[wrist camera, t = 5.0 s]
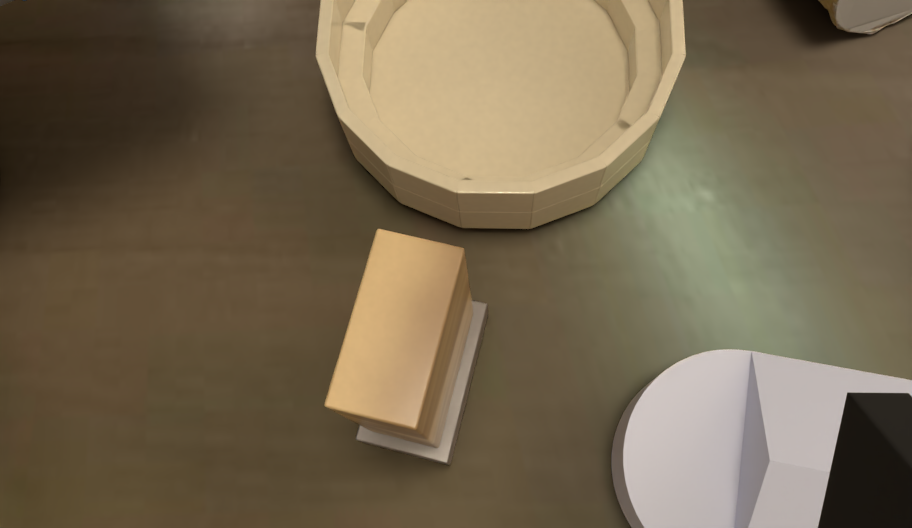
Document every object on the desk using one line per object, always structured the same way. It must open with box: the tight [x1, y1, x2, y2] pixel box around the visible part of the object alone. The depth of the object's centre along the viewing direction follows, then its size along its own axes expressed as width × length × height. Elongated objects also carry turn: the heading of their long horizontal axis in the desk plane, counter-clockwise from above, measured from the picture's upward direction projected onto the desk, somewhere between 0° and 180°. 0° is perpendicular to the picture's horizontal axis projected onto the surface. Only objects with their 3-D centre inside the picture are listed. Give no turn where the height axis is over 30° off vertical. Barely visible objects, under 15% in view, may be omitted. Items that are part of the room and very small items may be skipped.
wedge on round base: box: [611, 349, 912, 528], centre depth 30 cm, size 9×7×13 cm
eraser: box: [325, 229, 488, 465], centre depth 30 cm, size 4×7×11 cm, turn 166°
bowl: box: [315, 0, 686, 229], centre depth 37 cm, size 16×16×5 cm
